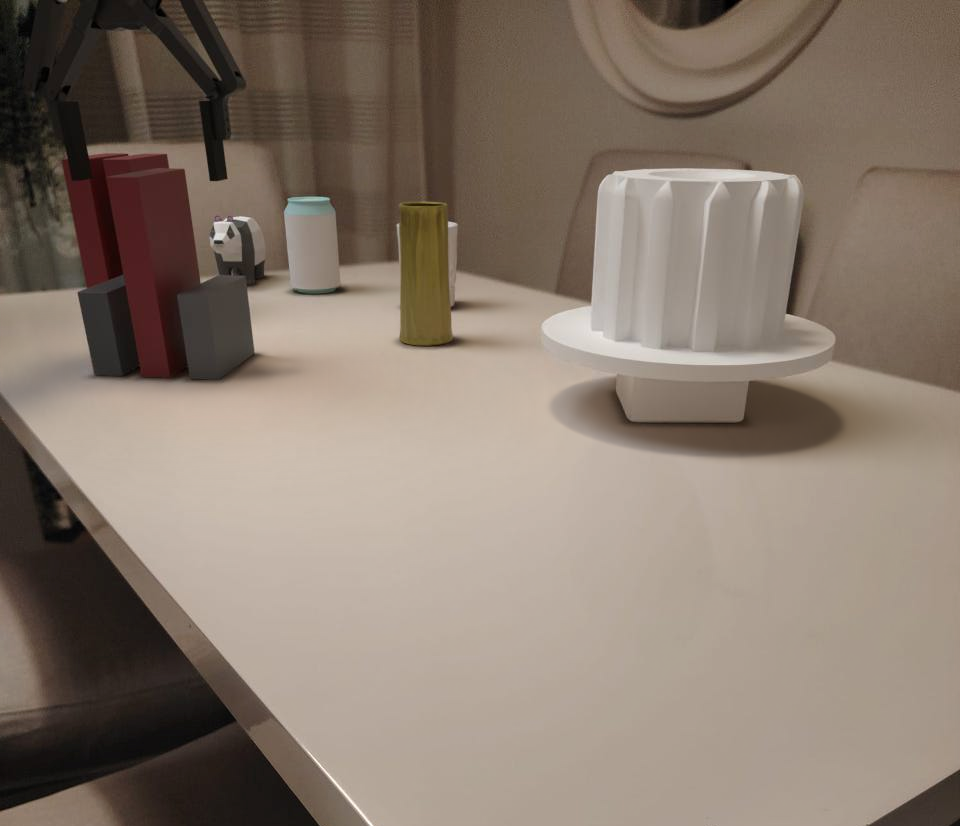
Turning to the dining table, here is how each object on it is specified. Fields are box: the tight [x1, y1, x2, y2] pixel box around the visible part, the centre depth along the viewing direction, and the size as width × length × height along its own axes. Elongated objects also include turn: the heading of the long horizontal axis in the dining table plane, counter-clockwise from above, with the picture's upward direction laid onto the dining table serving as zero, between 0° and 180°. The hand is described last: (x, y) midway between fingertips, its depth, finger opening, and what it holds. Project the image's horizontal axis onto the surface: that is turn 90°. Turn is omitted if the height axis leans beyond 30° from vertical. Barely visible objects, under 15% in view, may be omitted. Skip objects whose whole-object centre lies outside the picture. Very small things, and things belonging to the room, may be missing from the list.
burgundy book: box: [106, 167, 202, 379], centre depth 94 cm, size 3×11×18 cm, turn 173°
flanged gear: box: [540, 167, 836, 424], centre depth 80 cm, size 25×25×19 cm
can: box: [283, 196, 341, 295], centre depth 132 cm, size 7×7×12 cm
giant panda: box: [208, 215, 267, 286], centre depth 137 cm, size 15×6×10 cm, turn 176°
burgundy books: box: [60, 152, 170, 289], centre depth 116 cm, size 8×11×18 cm
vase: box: [398, 201, 454, 347], centre depth 104 cm, size 6×6×14 cm
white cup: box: [395, 221, 459, 308], centre depth 123 cm, size 8×8×10 cm
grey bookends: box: [77, 274, 256, 381], centre depth 96 cm, size 13×11×8 cm
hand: (150, 180), depth 89 cm, fingers open, 13 cm apart
